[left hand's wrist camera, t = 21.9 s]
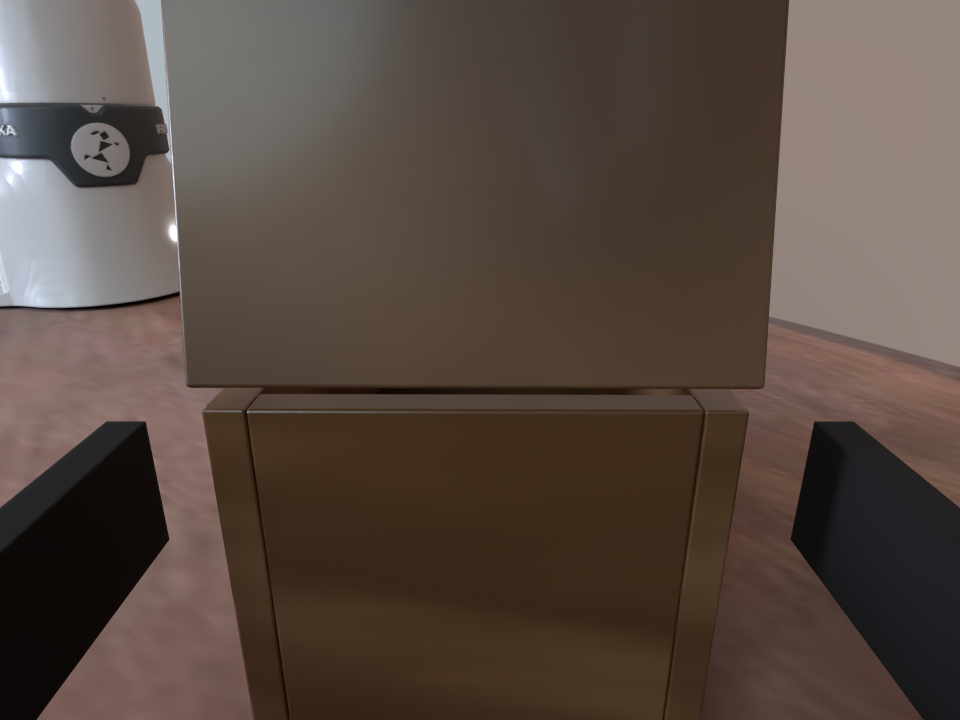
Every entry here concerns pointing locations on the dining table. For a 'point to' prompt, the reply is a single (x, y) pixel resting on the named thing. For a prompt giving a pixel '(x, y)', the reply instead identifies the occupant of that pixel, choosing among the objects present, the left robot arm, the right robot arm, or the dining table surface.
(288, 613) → the chest
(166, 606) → the dining table surface
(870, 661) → the dining table surface
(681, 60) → the lid
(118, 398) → the dining table surface
